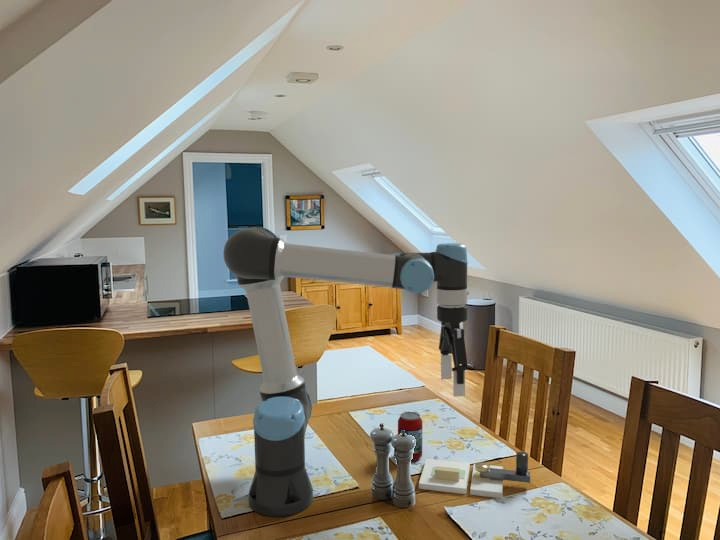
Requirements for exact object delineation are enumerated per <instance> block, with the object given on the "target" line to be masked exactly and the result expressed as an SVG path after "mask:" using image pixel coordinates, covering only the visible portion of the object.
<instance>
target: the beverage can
mask: <svg viewBox="0 0 720 540" xmlns="http://www.w3.org/2000/svg"><path fill="white" fill-rule="evenodd" d="M402 430H405V433H406V434H407V435H412V436H414V437H415V439H416V446H415V448H414V453H413V459H412V461H411V462H413V461H417V460H419V459H420V458H422V456H423V419H422V418H421V416H420V414H419V413H417V412H414V411H405V412H402V413H401V414H400V415H399V418H398V420H397V436H398V435H399V434H400V433H401V431H402Z"/></svg>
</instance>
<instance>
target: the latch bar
mask: <svg viewBox="0 0 720 540" xmlns="http://www.w3.org/2000/svg"><path fill="white" fill-rule="evenodd" d="M515 457H516V458H515V470H513V469H506V468H505V469H504V468H503V469H495V468H490V465H491V464H489V463H488V462H482V461H480V462H476V463H474V464H475V470H476V471H478V472H480V477H481V478H491V479H500V480H503V481H509V482H510V481H511V482H521V483H530V484H531V471H529V454H528V453H527V452H525V451H517V452H516V455H515Z"/></svg>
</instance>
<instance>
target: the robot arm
mask: <svg viewBox="0 0 720 540" xmlns="http://www.w3.org/2000/svg"><path fill="white" fill-rule="evenodd" d="M222 254H223V260H224V263H225V265H226V267H227V269H228V270H229V271H230V272H231V273H232V274H234V275H235V276H236V279H237V284H238V286H239V288H242V289H243V290H244V291H245V293H246V298H247V303H248V308H249V313H250V317H251V323H252V328H253V333H254V339H255V343H256V346H257V347H256V348H257V353H258V359H259V362H260V368H261V372H262V378H263V383H262V384H261V385H260V387H259V395H260V400H261V402H259V404H258V405H257V406H256V407H255V410H254V412H253V419H252V424H253V430H254V431H253V432H254V434H253V435H254V464H255V465H254V467H255V471H254V474H253V476H252V477H253V478H252V480H251V485H250V487H249V492H248V504H249V507H250V509H251V510H252V511H253V512H256V513H258V514H260V515H262V516H265V517H266V516H269V517H285V516H290V515H291V516H292V515H294V514H297V513H300V512H302V511H304V510H305V509H308V507H309V506H310V505H312V502H313V500H314V489H313V485H312V483H311V480H310V477H309V473H308V471H307V468H306V455H305V454H306V453H305V452H306V451H305V449H306V448H305V447H306V446H305V440H306V439H305V436H306V432H307V427H308V423H309V420H310V419H311V415H312V410H313V405H312V404H313V403H312V399H311V396H310V393H309V392H308V391H307V386H306V381H305V378H304V377H302V376H301V375H299V374H298V372H297V366H296V362H295V357H294V352H293V346H292V341H291V336H290V335H291V334H290V330H289V326H288V320H287V315H286V309H285V303H284V298H283V293H282V289H281V282H282V281H283V279H284V278H293V279H295V278H297V279H303V280H305V279H306V280H313V281H323V282H334V283H342V284H343V283H344V284H353V285H363V286H371V287H382V288H389V289H390V288H391V289H398V290H406V291H408V292H410V293H414V294H421V293H424V292H427V291H428V290H429V289H430V288H431V287H432V285H433V283H436V304H438V306H437V307H436V318H437V321H439V322H440V323H441V326H440V327H441V328H440V335H439V345H438V350H439V352H440V378H441V380H453V381H452V383H453V389H452V390H453V392H452V393H453V395H452V396H453V397H454V398H455V397H466V371H468V370H469V367H468V359H467V351H466V343H465V342H466V340H465V329H464V328H461V325H460V324H461V323H464V322H466V321H468V306H467V304H468V295H470V292H469V291H468V264H469V262H468V255H467V247H466V245H465V244H463V243H459V242H458V243H457V242H456V243H455V242H451V243H448V242H447V243H439V244H437V245H436V248H435V251H432V252H431V251H430V252H404V251H403V252H397V253H396V252H394V253H390V254H385V253H379V252H378V253H376V252H369V251H368V252H367V251H366V252H365V251H359V250H358V251H357V250H350V249H340V248H339V249H338V248H331V247H323V246H321V247H320V246H312V245H305V244H304V245H303V244H295V243H287V242H286V241H285V240H284V239H283V238H279V237H278V235H276V233H274V232H273V231H271V230H270V229H268V228H266V227H263V226H262V227H261V226H251V227H248V228H247V227H246V228H245V229H241V230H238V231H236V232H234V233H232V235H230V237H228V239H227V240H226V242H225V244H224V246H223V253H222ZM452 361H453V365H452ZM452 366H453V367H452ZM452 374H453V376H452ZM452 377H453V379H452Z"/></svg>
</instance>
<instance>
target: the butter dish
mask: <svg viewBox="0 0 720 540" xmlns="http://www.w3.org/2000/svg"><path fill="white" fill-rule="evenodd" d="M470 471H471V463H470V462H462V461H461V462H460V461H452V460H442V459H432V458H426V459H425V462H424V466H423V469H422V472H421V476H420V478H419V481H418V489H419V490H420V489H421V490H425V491H426V490H428V491H437V492H445V493H451V494H452V493H454V494H462V495H467V492H468V491H467V490H468V483H469V478H470V477H469V476H470Z"/></svg>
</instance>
